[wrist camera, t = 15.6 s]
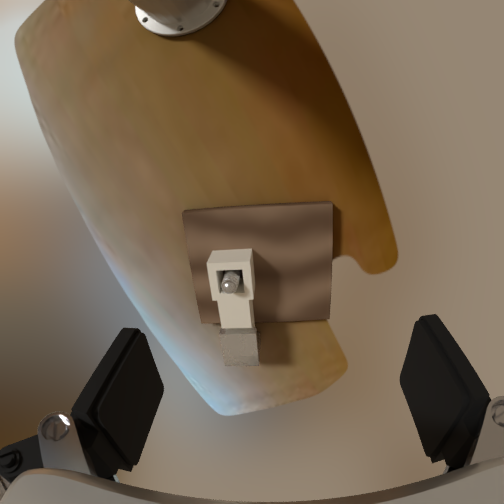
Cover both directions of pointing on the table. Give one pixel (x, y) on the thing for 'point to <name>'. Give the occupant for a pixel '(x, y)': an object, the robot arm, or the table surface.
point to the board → (268, 256)
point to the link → (240, 302)
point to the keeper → (240, 346)
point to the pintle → (231, 281)
